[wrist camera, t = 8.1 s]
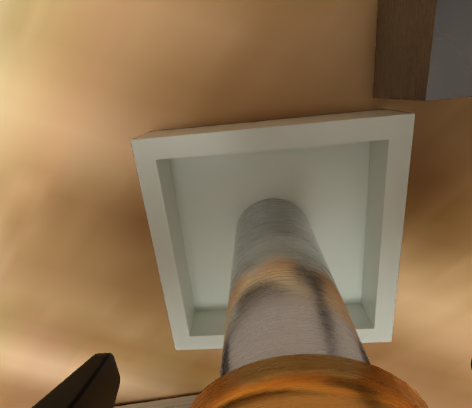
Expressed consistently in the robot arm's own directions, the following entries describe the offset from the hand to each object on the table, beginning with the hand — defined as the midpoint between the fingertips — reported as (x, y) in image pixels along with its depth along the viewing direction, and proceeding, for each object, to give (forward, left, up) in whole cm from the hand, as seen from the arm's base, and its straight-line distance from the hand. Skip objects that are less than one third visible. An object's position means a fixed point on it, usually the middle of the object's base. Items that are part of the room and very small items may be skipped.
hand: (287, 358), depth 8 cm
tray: (0, 0, -8) cm, 8 cm away
